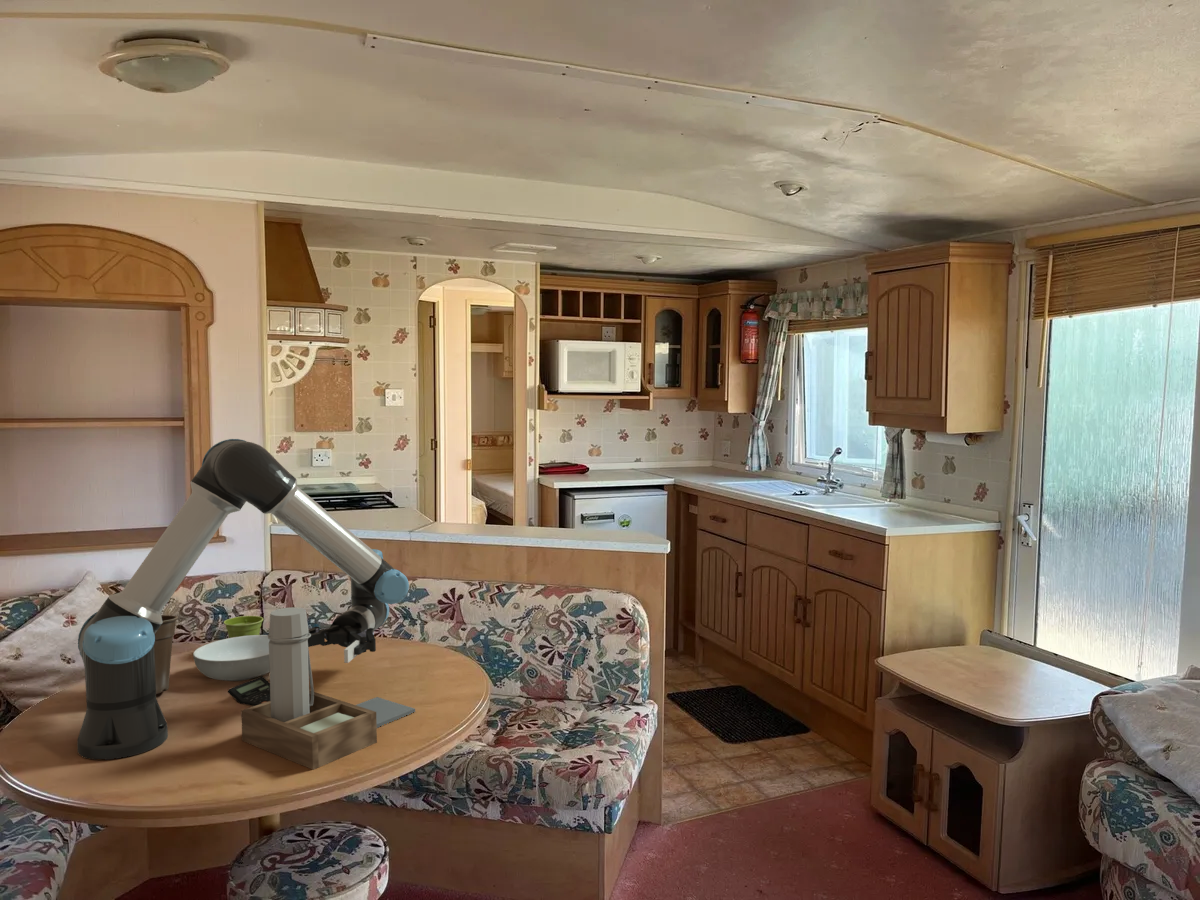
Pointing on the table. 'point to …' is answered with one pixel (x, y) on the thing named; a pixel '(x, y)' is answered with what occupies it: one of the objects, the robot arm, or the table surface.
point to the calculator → (252, 692)
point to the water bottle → (289, 664)
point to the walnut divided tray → (305, 744)
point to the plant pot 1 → (163, 652)
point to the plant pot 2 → (243, 626)
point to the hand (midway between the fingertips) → (313, 655)
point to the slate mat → (386, 710)
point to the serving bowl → (234, 658)
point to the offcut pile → (326, 722)
